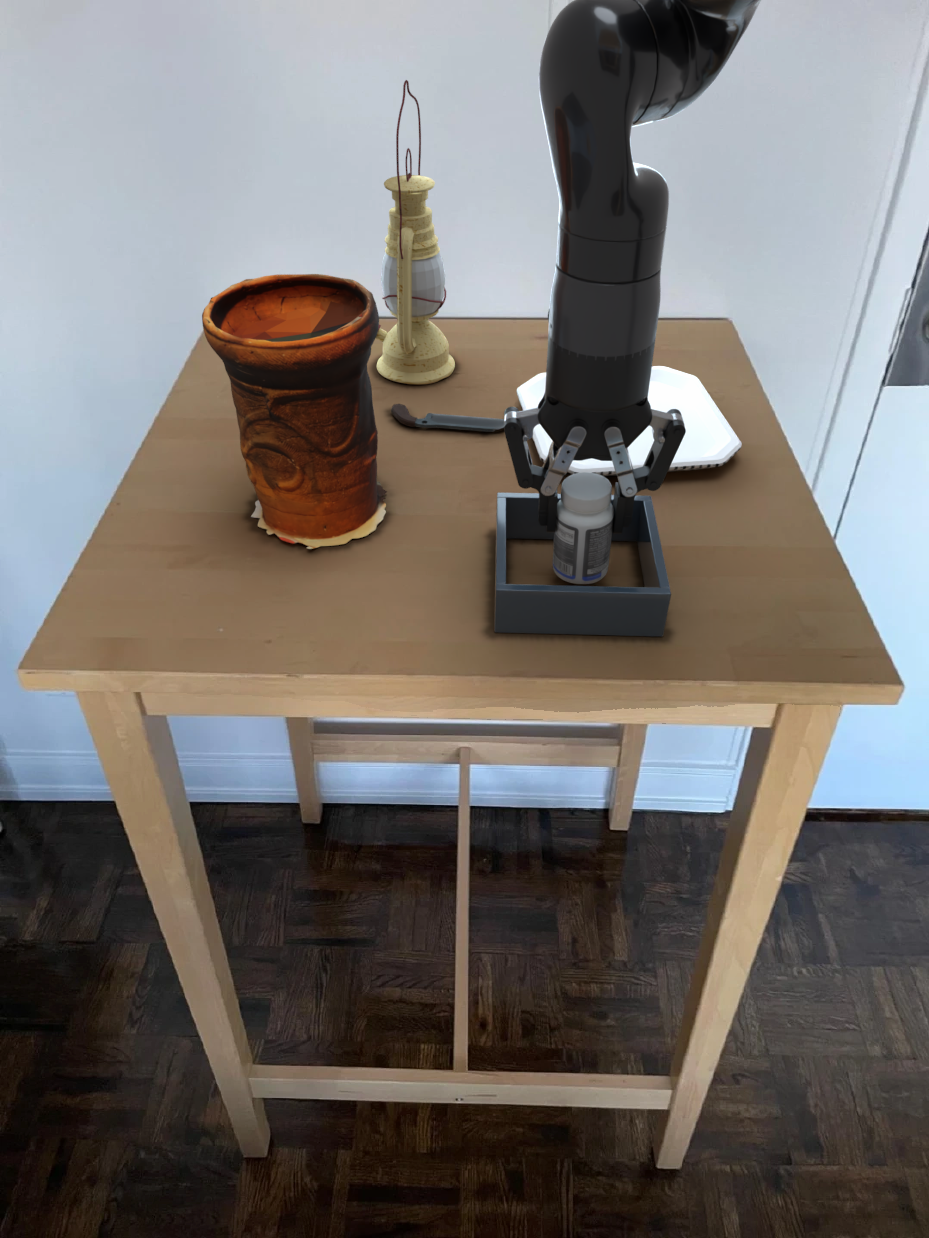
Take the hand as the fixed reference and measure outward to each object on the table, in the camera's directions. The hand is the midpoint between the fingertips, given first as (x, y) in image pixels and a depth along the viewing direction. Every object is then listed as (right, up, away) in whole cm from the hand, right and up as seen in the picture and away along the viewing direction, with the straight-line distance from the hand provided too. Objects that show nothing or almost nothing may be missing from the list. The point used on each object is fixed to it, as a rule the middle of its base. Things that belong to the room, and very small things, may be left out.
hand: (583, 526), depth 77 cm
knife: (-11, +13, +24) cm, 30 cm away
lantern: (-16, +22, +34) cm, 44 cm away
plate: (+7, +12, +23) cm, 27 cm away
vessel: (-24, +3, +12) cm, 27 cm away
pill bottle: (0, -4, +3) cm, 5 cm away
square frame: (0, -4, +4) cm, 6 cm away
